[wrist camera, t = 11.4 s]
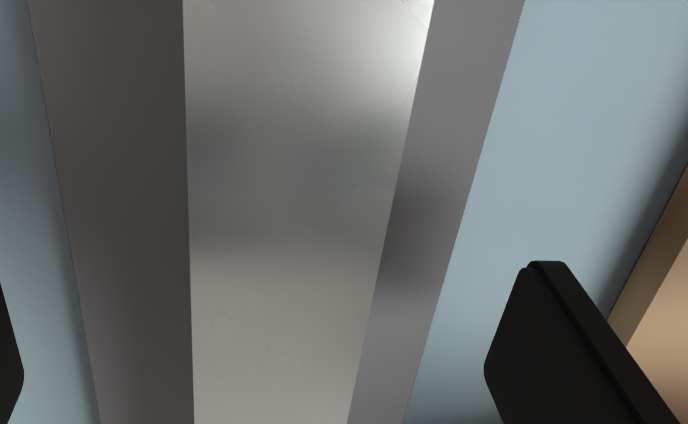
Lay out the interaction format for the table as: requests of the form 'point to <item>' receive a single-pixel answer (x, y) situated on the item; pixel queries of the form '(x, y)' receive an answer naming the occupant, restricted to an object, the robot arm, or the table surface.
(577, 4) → the table surface
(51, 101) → the mat
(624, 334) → the rack
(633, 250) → the table surface
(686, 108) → the table surface
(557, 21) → the table surface
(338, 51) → the rail
